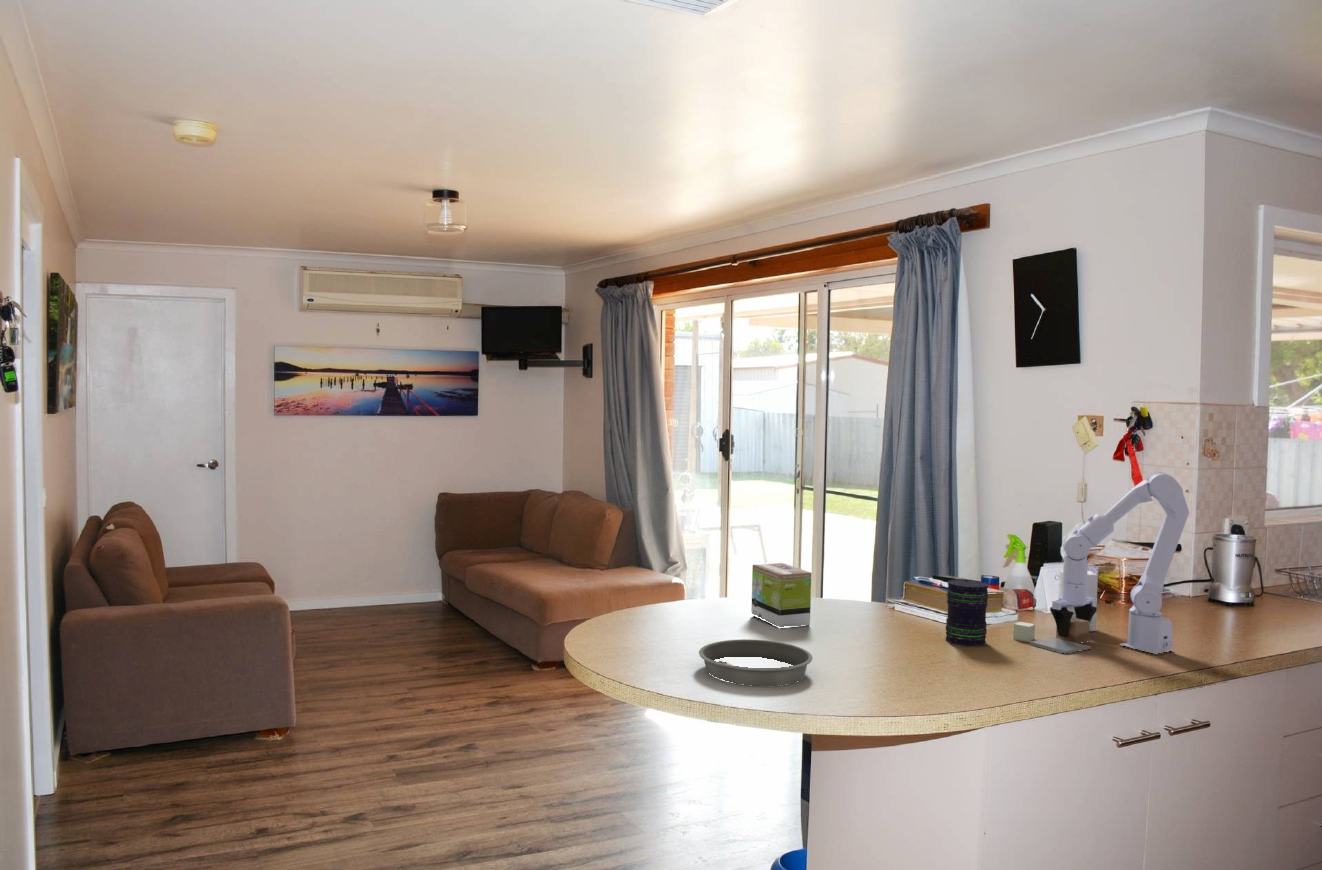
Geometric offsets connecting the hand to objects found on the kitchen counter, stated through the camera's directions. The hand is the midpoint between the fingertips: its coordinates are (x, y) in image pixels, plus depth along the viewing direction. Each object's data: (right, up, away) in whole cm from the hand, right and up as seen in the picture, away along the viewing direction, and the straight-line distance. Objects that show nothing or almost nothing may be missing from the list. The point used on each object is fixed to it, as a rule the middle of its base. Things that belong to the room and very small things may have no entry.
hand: (1072, 635), depth 243 cm
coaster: (-6, -2, -7) cm, 10 cm away
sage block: (-12, -1, 0) cm, 12 cm away
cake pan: (-85, -1, -37) cm, 93 cm away
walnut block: (0, -2, 0) cm, 2 cm away
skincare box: (+7, -1, +14) cm, 15 cm away
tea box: (-74, +1, +12) cm, 75 cm away
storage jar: (-29, -1, -4) cm, 29 cm away
